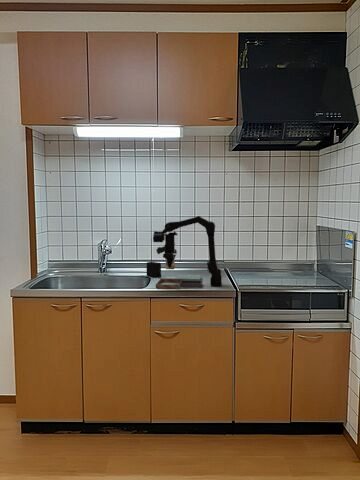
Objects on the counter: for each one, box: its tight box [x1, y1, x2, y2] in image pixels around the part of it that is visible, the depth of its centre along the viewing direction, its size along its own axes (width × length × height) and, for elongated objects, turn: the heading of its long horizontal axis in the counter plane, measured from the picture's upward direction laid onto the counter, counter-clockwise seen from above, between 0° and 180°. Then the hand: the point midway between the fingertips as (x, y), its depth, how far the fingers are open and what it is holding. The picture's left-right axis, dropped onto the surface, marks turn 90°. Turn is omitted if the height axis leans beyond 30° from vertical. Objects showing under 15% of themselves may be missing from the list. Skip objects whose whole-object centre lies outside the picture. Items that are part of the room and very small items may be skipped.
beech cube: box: [165, 259, 176, 270], centre depth 254 cm, size 5×5×5 cm
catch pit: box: [179, 280, 203, 289], centre depth 251 cm, size 13×8×2 cm, turn 83°
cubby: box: [155, 277, 182, 290], centre depth 252 cm, size 14×18×2 cm
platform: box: [175, 274, 202, 281], centre depth 268 cm, size 16×12×2 cm
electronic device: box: [145, 261, 162, 279], centre depth 278 cm, size 4×10×10 cm, turn 49°
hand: (170, 266), depth 254 cm, fingers closed on beech cube, 5 cm apart
